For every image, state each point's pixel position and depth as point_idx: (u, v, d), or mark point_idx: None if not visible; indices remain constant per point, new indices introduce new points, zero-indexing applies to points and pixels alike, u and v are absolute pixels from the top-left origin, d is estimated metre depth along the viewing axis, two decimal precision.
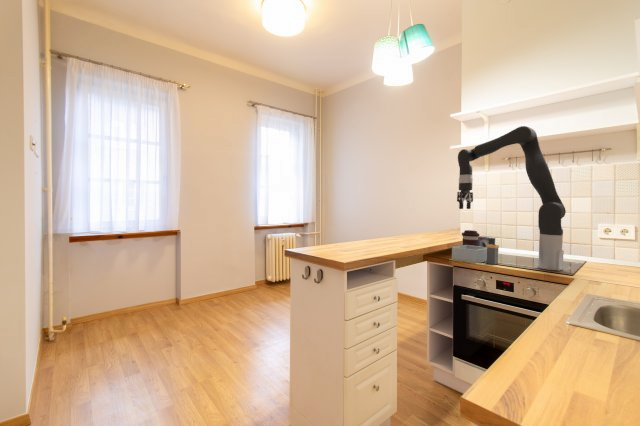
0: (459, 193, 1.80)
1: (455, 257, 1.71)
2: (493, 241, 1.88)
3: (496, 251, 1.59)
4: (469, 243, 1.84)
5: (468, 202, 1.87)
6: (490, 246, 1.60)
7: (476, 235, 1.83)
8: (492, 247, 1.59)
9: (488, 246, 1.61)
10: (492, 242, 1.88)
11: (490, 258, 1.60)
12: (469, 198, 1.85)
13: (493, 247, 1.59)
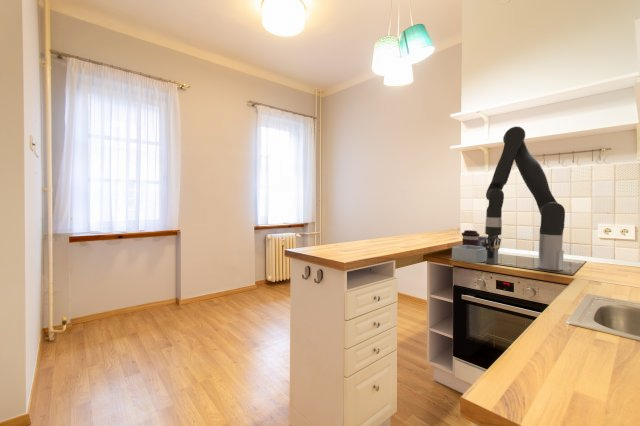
0: (487, 242, 1.57)
1: (455, 257, 1.71)
2: None
3: (496, 251, 1.59)
4: (469, 243, 1.84)
5: None
6: None
7: (476, 235, 1.83)
8: None
9: None
10: None
11: (490, 258, 1.60)
12: (496, 244, 1.61)
13: (493, 247, 1.59)
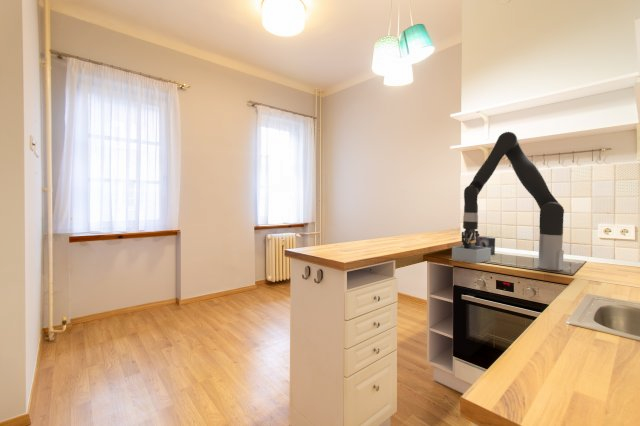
0: (464, 233, 1.68)
1: (455, 257, 1.71)
2: (493, 241, 1.88)
3: (473, 246, 1.70)
4: None
5: None
6: None
7: None
8: (469, 242, 1.70)
9: None
10: (492, 242, 1.88)
11: None
12: (474, 237, 1.72)
13: (470, 242, 1.70)
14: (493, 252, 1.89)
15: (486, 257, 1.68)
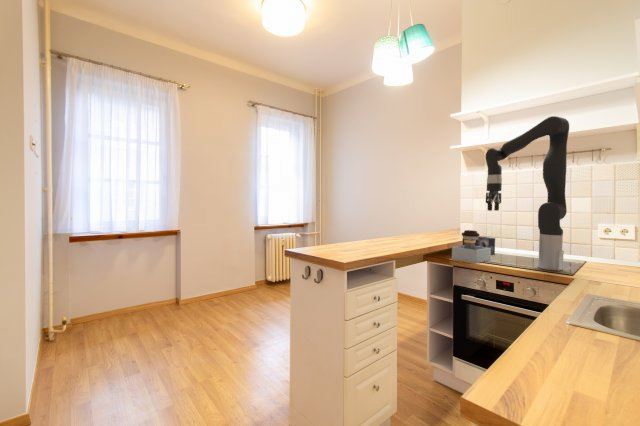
0: (488, 194, 1.72)
1: (455, 257, 1.71)
2: (493, 241, 1.88)
3: (473, 246, 1.70)
4: None
5: (496, 203, 1.79)
6: (467, 241, 1.71)
7: (476, 235, 1.83)
8: (469, 242, 1.70)
9: (465, 241, 1.72)
10: (492, 242, 1.88)
11: None
12: (498, 199, 1.77)
13: (470, 242, 1.70)
14: (493, 252, 1.89)
15: (486, 257, 1.68)
